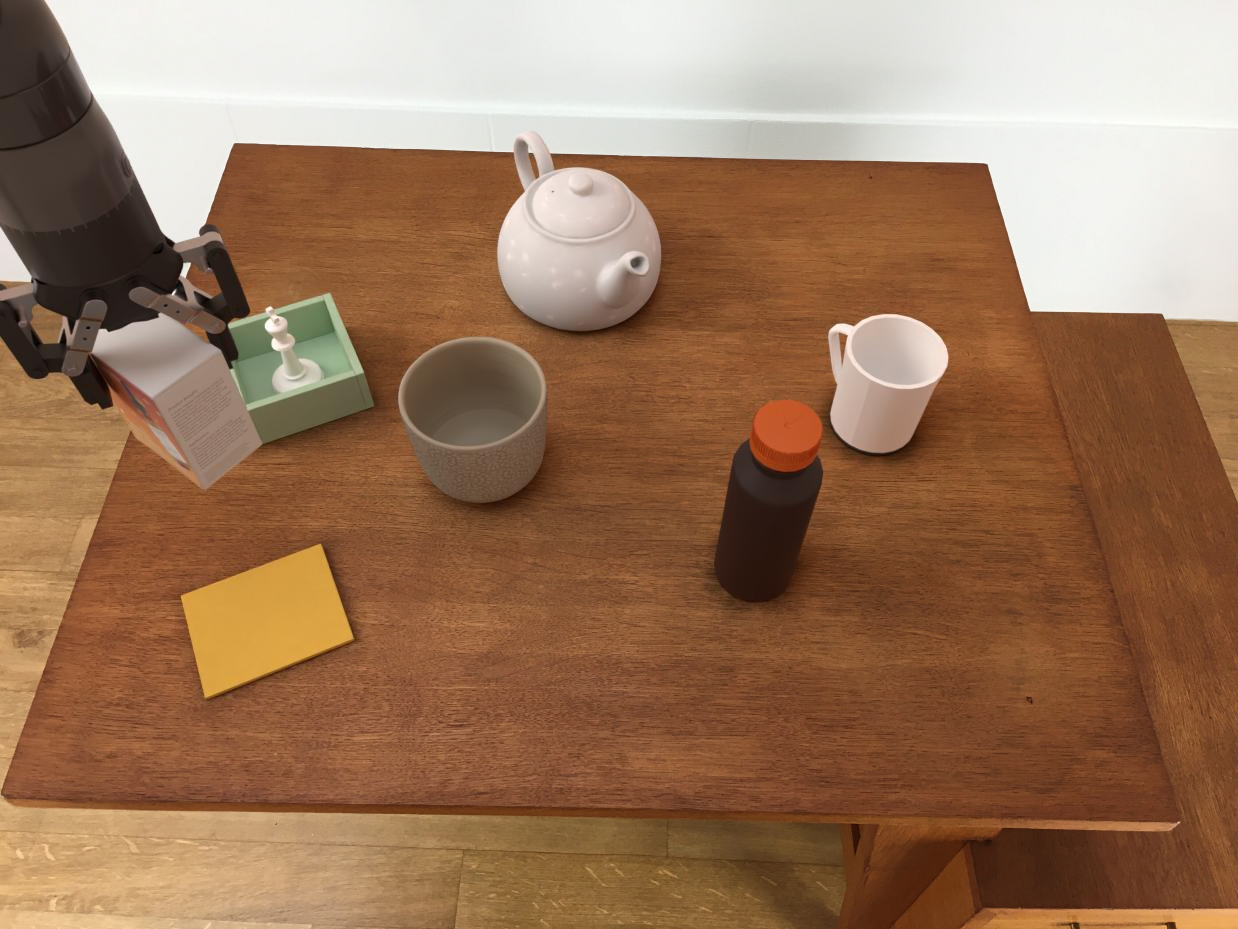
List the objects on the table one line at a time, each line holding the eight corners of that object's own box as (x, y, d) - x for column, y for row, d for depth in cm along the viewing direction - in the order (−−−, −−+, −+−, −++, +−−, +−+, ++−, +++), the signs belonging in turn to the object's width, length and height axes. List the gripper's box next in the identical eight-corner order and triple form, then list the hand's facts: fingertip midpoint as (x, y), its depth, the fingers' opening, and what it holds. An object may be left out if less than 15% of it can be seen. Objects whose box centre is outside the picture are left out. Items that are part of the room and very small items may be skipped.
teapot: (681, 238, 108) (690, 133, 97) (643, 357, 98) (648, 254, 87) (522, 210, 111) (513, 104, 100) (468, 322, 100) (451, 218, 89)
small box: (135, 439, 72) (73, 341, 63) (196, 394, 75) (145, 294, 66) (205, 494, 69) (149, 399, 61) (266, 445, 72) (221, 348, 63)
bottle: (728, 525, 86) (756, 377, 70) (801, 550, 85) (848, 405, 68) (702, 587, 82) (726, 446, 66) (778, 614, 81) (822, 477, 65)
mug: (934, 418, 93) (966, 345, 85) (887, 476, 89) (916, 405, 81) (837, 364, 97) (859, 289, 89) (789, 416, 93) (806, 343, 85)
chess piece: (288, 408, 93) (257, 336, 84) (263, 378, 95) (231, 305, 87) (333, 384, 94) (307, 311, 86) (308, 355, 97) (281, 281, 89)
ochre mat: (206, 700, 76) (204, 698, 76) (182, 597, 81) (180, 595, 81) (354, 640, 79) (353, 638, 79) (322, 545, 84) (321, 543, 84)
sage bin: (255, 447, 91) (238, 413, 86) (228, 362, 97) (211, 328, 93) (374, 406, 94) (364, 372, 89) (341, 327, 100) (330, 292, 96)
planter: (410, 427, 92) (389, 349, 83) (537, 403, 94) (530, 325, 85) (428, 534, 85) (407, 462, 76) (565, 506, 87) (560, 433, 78)
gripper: (179, 113, 57) (258, 314, 70) (-88, 177, 53) (49, 376, 66) (206, 187, 53) (284, 384, 66) (-80, 261, 49) (64, 455, 62)
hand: (166, 380), depth 66 cm, fingers closed on small box, 7 cm apart
